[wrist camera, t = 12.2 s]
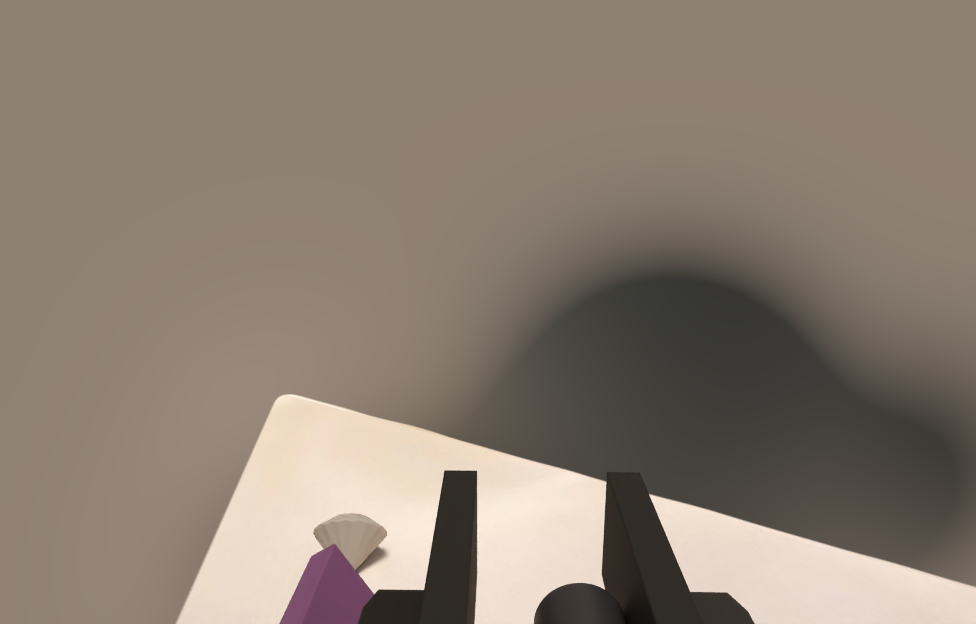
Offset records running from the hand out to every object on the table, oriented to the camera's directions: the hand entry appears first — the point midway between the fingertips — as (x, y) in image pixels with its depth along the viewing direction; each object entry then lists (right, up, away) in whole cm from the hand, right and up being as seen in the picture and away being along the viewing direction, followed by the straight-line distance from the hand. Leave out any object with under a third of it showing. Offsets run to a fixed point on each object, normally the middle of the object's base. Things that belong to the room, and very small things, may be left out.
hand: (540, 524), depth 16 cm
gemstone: (-13, -16, +41) cm, 46 cm away
